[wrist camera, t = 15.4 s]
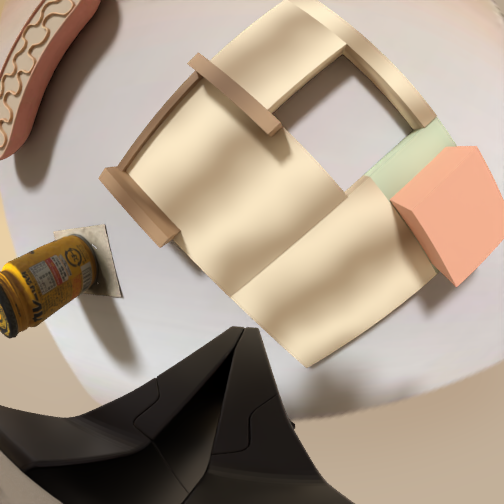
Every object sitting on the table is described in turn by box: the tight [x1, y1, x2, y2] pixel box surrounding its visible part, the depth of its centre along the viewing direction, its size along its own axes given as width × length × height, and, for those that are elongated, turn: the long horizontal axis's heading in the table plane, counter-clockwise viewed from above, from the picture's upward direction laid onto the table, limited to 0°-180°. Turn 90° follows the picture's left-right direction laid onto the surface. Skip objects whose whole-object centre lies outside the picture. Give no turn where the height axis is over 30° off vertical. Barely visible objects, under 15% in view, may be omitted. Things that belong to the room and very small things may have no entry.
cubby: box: [99, 53, 283, 248], centre depth 16 cm, size 7×11×2 cm, turn 135°
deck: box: [126, 0, 456, 368], centre depth 17 cm, size 22×20×2 cm
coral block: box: [390, 146, 504, 287], centre depth 14 cm, size 6×6×4 cm
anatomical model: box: [0, 0, 101, 160], centre depth 16 cm, size 23×10×5 cm, turn 142°
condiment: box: [0, 224, 121, 338], centre depth 19 cm, size 7×8×12 cm
